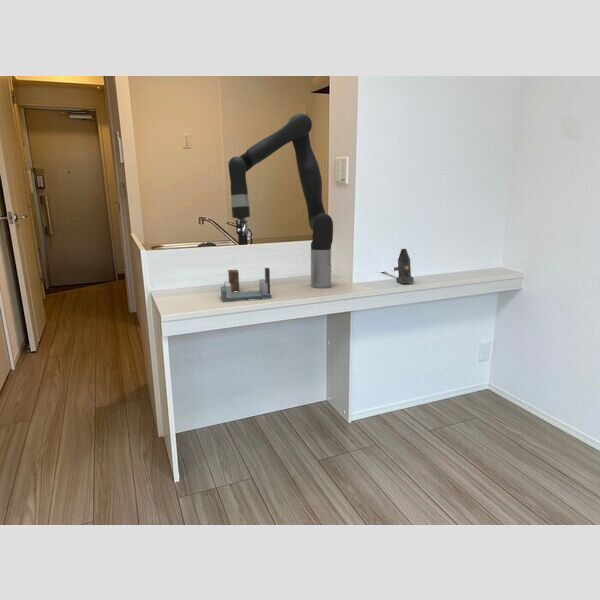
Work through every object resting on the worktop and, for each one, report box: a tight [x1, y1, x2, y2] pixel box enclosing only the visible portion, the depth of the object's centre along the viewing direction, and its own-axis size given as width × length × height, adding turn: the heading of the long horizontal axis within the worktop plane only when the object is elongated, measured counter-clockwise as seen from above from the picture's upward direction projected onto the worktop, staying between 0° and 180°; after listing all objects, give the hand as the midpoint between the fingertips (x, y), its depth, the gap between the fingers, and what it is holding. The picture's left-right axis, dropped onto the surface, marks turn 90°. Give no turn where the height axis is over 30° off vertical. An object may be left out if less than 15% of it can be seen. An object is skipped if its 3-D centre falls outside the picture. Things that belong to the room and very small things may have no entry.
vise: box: [220, 280, 272, 303], centre depth 195 cm, size 20×9×6 cm, turn 104°
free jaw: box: [258, 267, 271, 295], centre depth 196 cm, size 4×9×10 cm, turn 14°
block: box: [227, 269, 240, 293], centre depth 207 cm, size 4×5×9 cm
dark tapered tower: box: [393, 248, 414, 284], centre depth 231 cm, size 6×16×30 cm
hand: (243, 244), depth 199 cm, fingers open, 8 cm apart
